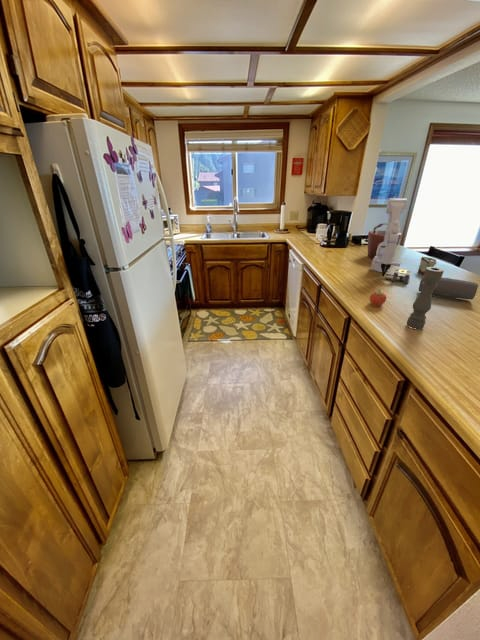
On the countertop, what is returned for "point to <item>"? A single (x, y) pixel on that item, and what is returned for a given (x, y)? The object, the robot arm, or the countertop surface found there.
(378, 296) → the tomato
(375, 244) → the bucket
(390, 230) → the robot arm
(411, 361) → the countertop surface
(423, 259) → the food container
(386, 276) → the tube
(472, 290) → the bluetooth speaker
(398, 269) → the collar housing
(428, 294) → the candle holder
